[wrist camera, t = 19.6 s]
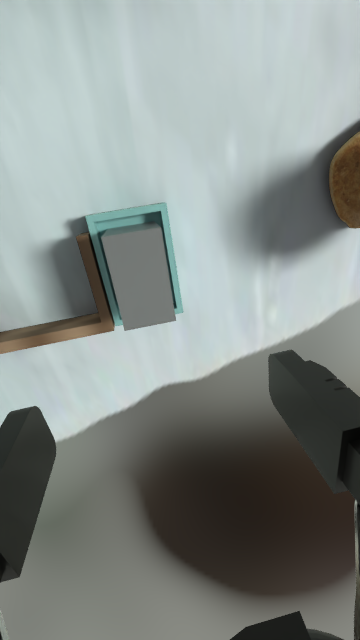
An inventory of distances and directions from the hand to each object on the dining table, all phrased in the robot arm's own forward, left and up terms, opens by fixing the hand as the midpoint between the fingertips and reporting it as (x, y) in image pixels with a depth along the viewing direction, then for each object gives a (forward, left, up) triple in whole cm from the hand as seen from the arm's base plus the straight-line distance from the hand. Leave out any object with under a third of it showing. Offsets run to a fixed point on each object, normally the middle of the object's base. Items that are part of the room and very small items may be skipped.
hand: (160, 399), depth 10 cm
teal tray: (0, 0, -22) cm, 22 cm away
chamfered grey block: (0, 0, -22) cm, 22 cm away
